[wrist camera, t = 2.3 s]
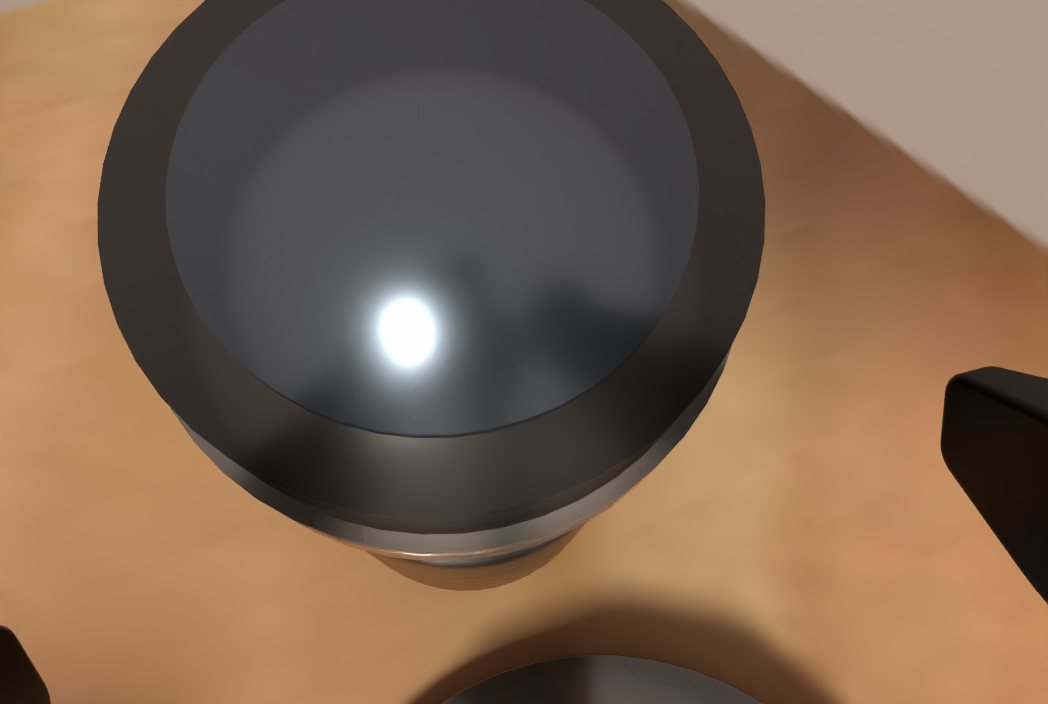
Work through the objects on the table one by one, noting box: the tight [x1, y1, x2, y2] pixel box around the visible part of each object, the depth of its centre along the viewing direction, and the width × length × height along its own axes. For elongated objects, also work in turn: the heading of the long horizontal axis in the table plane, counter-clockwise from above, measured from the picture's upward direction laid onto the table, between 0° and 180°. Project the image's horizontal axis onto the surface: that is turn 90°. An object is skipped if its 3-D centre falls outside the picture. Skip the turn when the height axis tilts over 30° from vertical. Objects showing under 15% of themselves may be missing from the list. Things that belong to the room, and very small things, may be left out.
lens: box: [98, 0, 765, 591], centre depth 13 cm, size 6×6×12 cm
